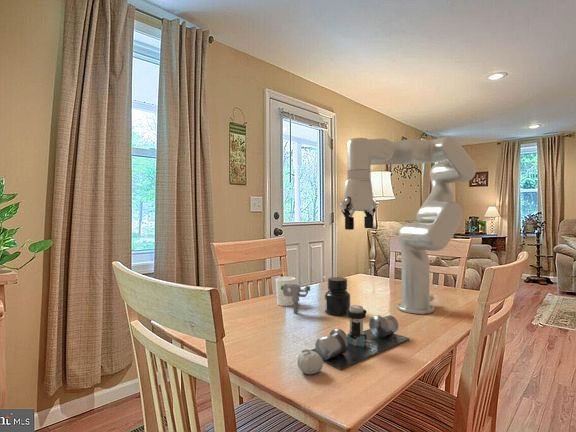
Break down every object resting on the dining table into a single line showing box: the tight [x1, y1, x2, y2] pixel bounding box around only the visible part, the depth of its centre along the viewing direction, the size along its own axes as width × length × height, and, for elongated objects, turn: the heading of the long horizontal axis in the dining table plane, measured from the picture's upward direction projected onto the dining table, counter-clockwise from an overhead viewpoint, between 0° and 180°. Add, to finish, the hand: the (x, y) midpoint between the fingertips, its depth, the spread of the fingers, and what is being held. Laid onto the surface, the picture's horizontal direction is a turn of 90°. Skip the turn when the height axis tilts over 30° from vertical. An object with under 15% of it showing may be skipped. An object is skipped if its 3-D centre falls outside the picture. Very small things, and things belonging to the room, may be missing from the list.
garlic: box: [297, 348, 324, 375], centre depth 78 cm, size 6×5×5 cm
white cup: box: [275, 276, 297, 307], centre depth 135 cm, size 8×8×10 cm
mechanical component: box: [281, 283, 311, 315], centre depth 122 cm, size 3×10×10 cm, turn 79°
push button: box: [346, 304, 372, 347], centre depth 92 cm, size 7×5×10 cm
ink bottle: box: [324, 276, 351, 317], centre depth 123 cm, size 10×9×12 cm
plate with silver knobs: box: [308, 315, 410, 371], centre depth 92 cm, size 28×12×6 cm, turn 129°
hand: (359, 228), depth 113 cm, fingers open, 9 cm apart
